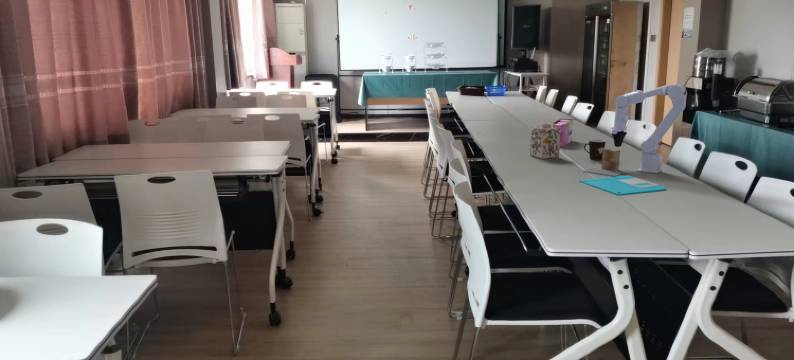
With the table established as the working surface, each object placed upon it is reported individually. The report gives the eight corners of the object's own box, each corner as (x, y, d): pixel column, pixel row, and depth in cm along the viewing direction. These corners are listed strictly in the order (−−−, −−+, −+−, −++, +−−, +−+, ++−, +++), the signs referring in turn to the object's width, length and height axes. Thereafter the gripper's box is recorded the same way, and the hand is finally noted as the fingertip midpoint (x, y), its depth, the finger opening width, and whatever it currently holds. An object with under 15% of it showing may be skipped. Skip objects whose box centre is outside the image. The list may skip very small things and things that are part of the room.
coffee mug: (602, 157, 334) (603, 139, 331) (606, 160, 326) (607, 142, 323) (580, 157, 335) (581, 138, 333) (583, 160, 327) (584, 141, 324)
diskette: (578, 182, 281) (578, 180, 281) (628, 177, 291) (628, 175, 291) (617, 196, 257) (617, 194, 257) (670, 190, 267) (670, 188, 267)
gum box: (563, 147, 364) (565, 124, 360) (550, 146, 367) (551, 123, 364) (571, 140, 384) (573, 119, 381) (559, 139, 388) (560, 118, 385)
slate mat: (623, 173, 297) (623, 172, 297) (615, 176, 290) (615, 175, 290) (591, 168, 308) (591, 167, 307) (583, 171, 300) (583, 170, 300)
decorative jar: (559, 157, 333) (561, 124, 329) (541, 159, 329) (543, 125, 325) (546, 153, 344) (548, 121, 340) (528, 155, 340) (530, 122, 335)
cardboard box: (618, 169, 305) (620, 150, 302) (615, 171, 301) (617, 151, 299) (604, 167, 309) (606, 148, 307) (601, 169, 306) (603, 149, 303)
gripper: (618, 117, 314) (615, 143, 317) (607, 120, 303) (604, 147, 306) (632, 118, 309) (629, 145, 313) (621, 121, 298) (618, 149, 302)
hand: (617, 146), depth 309 cm, fingers closed
